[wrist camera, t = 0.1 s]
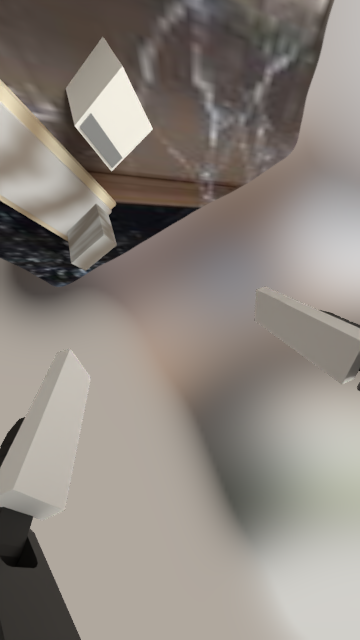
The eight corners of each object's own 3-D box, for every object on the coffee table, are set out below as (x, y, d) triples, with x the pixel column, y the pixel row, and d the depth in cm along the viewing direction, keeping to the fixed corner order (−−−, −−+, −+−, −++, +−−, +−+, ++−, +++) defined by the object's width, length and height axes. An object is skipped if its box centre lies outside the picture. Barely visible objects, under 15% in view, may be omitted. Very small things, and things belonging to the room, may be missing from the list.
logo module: (65, 89, 22) (73, 128, 18) (102, 36, 20) (123, 67, 16) (97, 133, 27) (111, 173, 22) (131, 94, 24) (153, 130, 20)
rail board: (-261, 35, 15) (-370, 79, 11) (-253, -190, 10) (-433, -260, 6) (72, 240, 40) (77, 276, 36) (115, 201, 36) (126, 237, 32)
